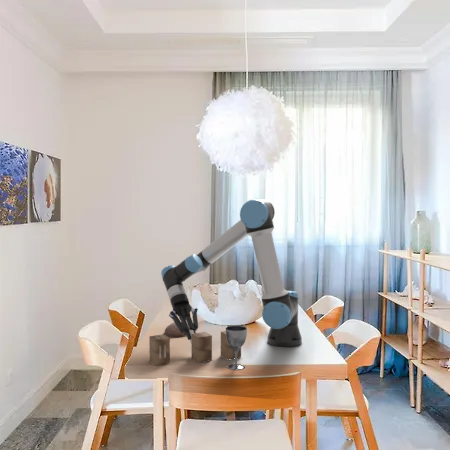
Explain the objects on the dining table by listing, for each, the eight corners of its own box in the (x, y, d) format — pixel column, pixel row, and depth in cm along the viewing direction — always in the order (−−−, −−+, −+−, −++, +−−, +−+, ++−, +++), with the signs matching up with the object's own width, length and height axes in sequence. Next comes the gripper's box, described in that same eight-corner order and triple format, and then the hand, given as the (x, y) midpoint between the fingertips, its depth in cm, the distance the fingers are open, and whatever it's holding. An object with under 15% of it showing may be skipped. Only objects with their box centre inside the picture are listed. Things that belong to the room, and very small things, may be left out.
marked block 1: (163, 358, 190) (163, 333, 189) (170, 363, 184) (169, 337, 184) (149, 361, 187) (149, 336, 186) (155, 366, 181) (155, 340, 181)
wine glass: (249, 369, 178) (249, 330, 177) (229, 371, 176) (229, 331, 175) (242, 362, 186) (242, 324, 185) (223, 364, 184) (223, 326, 183)
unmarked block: (204, 355, 193) (204, 331, 193) (211, 360, 188) (211, 335, 188) (191, 358, 190) (191, 333, 190) (198, 362, 185) (198, 337, 185)
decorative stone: (171, 339, 217) (171, 327, 216) (160, 332, 227) (160, 321, 226) (194, 335, 223) (194, 323, 222) (182, 329, 233) (182, 318, 233)
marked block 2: (233, 353, 196) (233, 329, 196) (241, 357, 191) (241, 333, 191) (220, 355, 193) (220, 331, 193) (228, 360, 188) (228, 335, 188)
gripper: (189, 301, 213) (206, 347, 199) (162, 304, 206) (177, 353, 193) (194, 291, 208) (212, 338, 194) (166, 294, 201) (183, 343, 188)
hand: (195, 345), depth 194 cm, fingers closed
